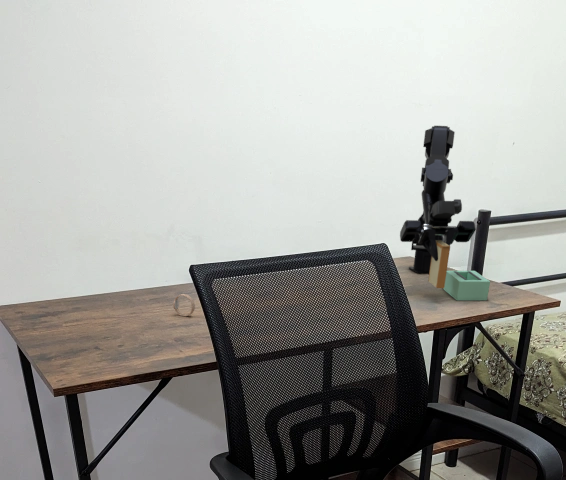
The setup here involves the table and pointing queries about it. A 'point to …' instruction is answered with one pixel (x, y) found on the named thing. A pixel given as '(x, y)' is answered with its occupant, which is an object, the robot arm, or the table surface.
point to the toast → (439, 265)
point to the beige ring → (176, 305)
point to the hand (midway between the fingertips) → (441, 260)
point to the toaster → (466, 285)
